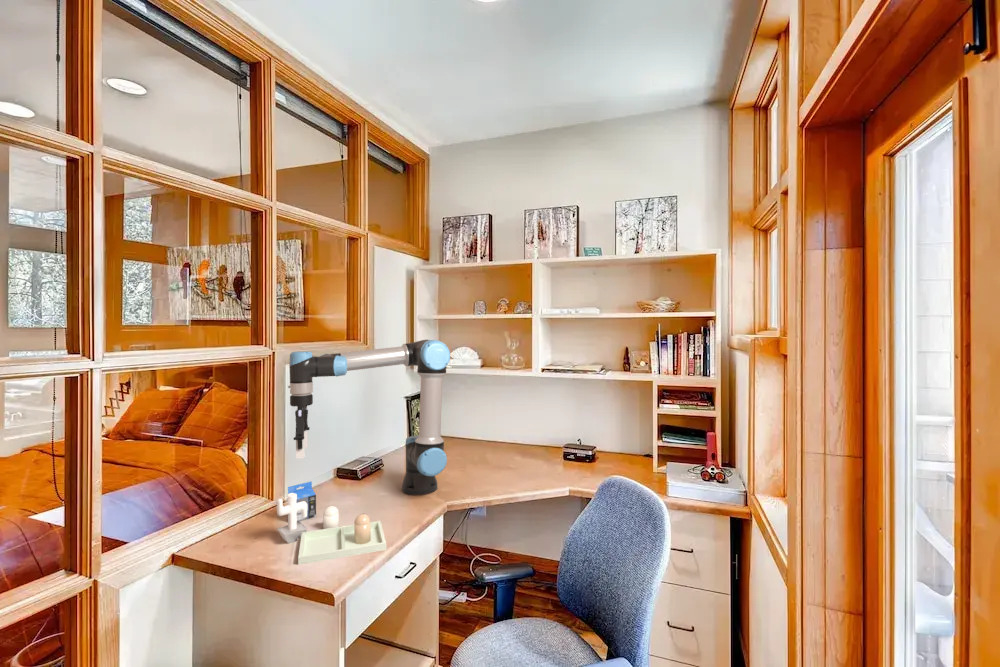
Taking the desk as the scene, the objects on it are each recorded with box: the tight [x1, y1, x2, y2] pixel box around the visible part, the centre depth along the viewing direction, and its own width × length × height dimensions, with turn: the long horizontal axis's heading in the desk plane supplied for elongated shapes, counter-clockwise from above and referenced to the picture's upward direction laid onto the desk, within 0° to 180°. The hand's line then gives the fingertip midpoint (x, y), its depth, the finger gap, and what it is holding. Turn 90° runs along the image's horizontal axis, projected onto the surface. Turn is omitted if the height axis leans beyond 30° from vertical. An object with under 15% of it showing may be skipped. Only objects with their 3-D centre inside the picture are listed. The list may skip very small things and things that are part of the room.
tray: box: [297, 520, 387, 566], centre depth 146 cm, size 25×18×3 cm
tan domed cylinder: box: [353, 513, 371, 544], centre depth 148 cm, size 5×5×8 cm
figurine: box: [276, 493, 308, 544], centre depth 152 cm, size 7×9×15 cm
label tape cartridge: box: [287, 481, 317, 522], centre depth 169 cm, size 9×4×12 cm, turn 135°
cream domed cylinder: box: [322, 505, 340, 529], centre depth 158 cm, size 5×5×8 cm
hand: (302, 453), depth 166 cm, fingers open, 13 cm apart
